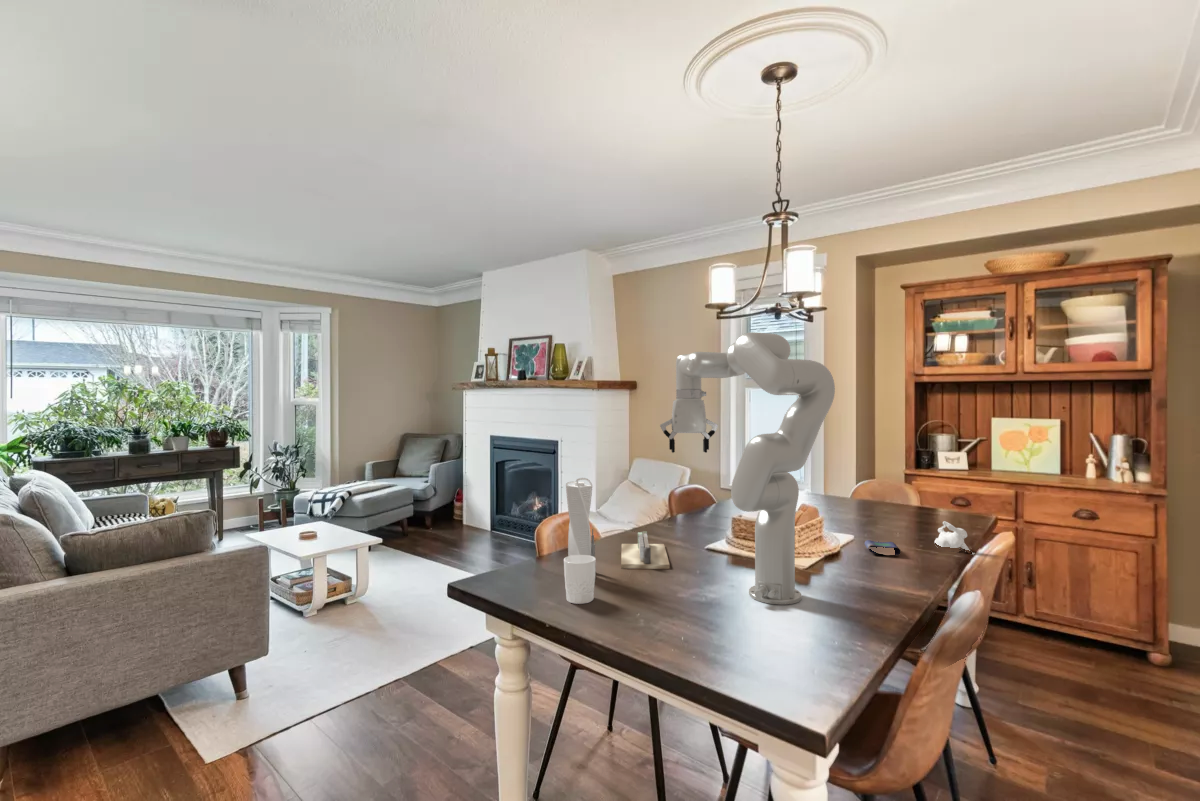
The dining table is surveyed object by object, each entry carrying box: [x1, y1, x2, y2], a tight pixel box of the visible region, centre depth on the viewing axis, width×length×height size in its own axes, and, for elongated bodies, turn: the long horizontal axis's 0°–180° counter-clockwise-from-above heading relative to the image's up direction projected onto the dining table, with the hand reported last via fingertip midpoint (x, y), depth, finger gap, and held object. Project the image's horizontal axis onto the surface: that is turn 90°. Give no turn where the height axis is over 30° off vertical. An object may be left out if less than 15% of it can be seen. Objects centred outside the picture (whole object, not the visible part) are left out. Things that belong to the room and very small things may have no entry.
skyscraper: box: [565, 477, 597, 580], centre depth 160 cm, size 8×8×28 cm
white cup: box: [563, 555, 597, 605], centre depth 142 cm, size 8×8×10 cm
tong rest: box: [620, 530, 671, 570], centre depth 179 cm, size 14×24×6 cm, turn 178°
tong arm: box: [637, 531, 644, 561], centre depth 179 cm, size 1×18×4 cm, turn 178°
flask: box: [864, 539, 902, 556], centre depth 184 cm, size 9×3×11 cm
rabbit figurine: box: [934, 520, 976, 555], centre depth 186 cm, size 12×8×10 cm, turn 22°
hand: (689, 452), depth 174 cm, fingers open, 9 cm apart
